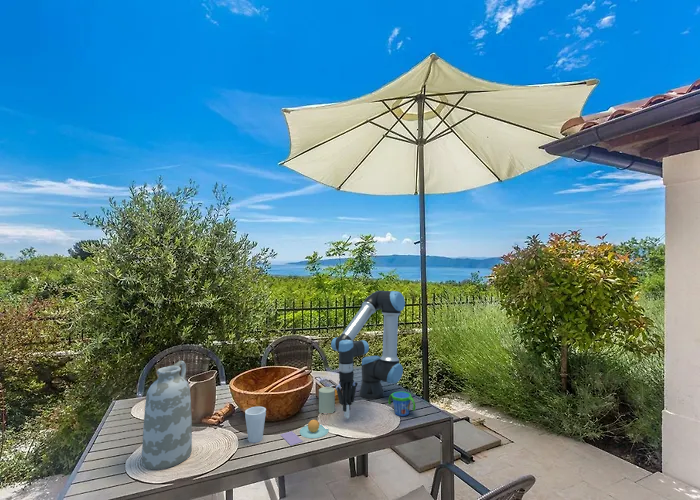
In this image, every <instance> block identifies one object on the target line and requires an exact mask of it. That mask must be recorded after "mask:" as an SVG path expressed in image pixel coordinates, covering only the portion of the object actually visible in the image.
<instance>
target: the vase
mask: <svg viewBox="0 0 700 500" xmlns="http://www.w3.org/2000/svg"><path fill="white" fill-rule="evenodd" d="M180 372H181V373H180ZM156 374H157V376H158V378H157V379H156V380H155V381H153V383H151V385H150V386H149V388H148V389H147V392H146V395H145V396H146V397H145V402H144V405H145V406H144V417H143V427H142V428H143V429H142V442H141V447H142V449H141V464H142V467H144V468H146V469H147V470H153V471H155V470H162V469H163V470H164V469H168V468H172V467H175V466H177V465H179V464H181V463H183V462H185V461H186V460H188V458H189V457H190V456H191V454H192V452H193V448H192V447H193V444H192V443H193V440H192V439H193V434H192V433H193V429H192V427H193V425H192V422H193V421H192V401H191V400H192V397H191V389H190V388H191V387H190V385H189V383H188V381H187V379H186V376H187V375H186V374H187V364H186V362H185V361H183V360H179V361H177V362H175V364H172V365H168V366H164V367H160V368H158V369H157V370H156Z"/></svg>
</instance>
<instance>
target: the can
mask: <svg viewBox="0 0 700 500" xmlns="http://www.w3.org/2000/svg"><path fill="white" fill-rule="evenodd" d="M335 394H336V389H335V387H331V386H324V387H323V386H322V387H320V388H319V389H318V413H319V414H321V413H332V414H333V412H334V411H335V412H336V395H335ZM335 412H334V413H335Z"/></svg>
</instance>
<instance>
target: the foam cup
mask: <svg viewBox="0 0 700 500" xmlns="http://www.w3.org/2000/svg"><path fill="white" fill-rule="evenodd" d="M266 411H267V408H266V407H264V406H252V407H249V408H247V409H245V410H244V412H245V413H244V417H245V424H246V425H245V426H246V431H247V440H248V442H249V443H259V442H261V441H262V440H263V436H264V430H265V429H264V428H265V421H266V415H267V412H266Z"/></svg>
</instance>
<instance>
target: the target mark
mask: <svg viewBox="0 0 700 500" xmlns="http://www.w3.org/2000/svg"><path fill="white" fill-rule="evenodd" d="M322 425H323V424H320V423H319V429H318V430H317V431H316V432H310V431H309V429H308V424H307V425H305V426H303V427H302V428H300V430H299V434H300V436H302V437H304V438H306V439H319V438H322V437H325V436H327V435H328V433H329V428H328V429H325V428H324V427H323V426H322Z"/></svg>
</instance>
